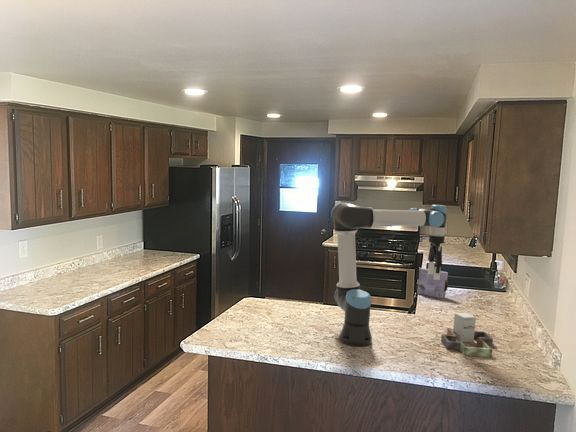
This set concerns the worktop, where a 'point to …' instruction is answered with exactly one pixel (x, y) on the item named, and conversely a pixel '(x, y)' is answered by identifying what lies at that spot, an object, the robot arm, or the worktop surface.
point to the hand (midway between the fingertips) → (433, 276)
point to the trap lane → (482, 342)
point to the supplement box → (464, 327)
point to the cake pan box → (432, 284)
